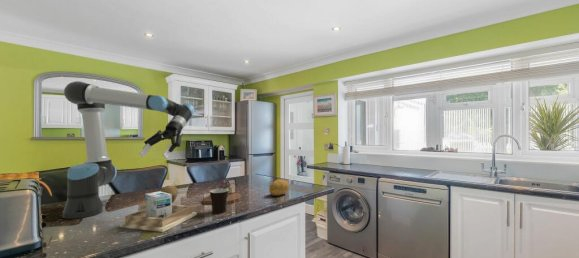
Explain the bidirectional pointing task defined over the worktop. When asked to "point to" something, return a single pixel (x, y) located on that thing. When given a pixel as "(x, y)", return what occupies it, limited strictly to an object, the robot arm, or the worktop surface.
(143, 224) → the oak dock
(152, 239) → the worktop surface
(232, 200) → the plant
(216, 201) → the coffee mug
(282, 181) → the potato
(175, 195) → the natural sponge
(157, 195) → the light bulb box
